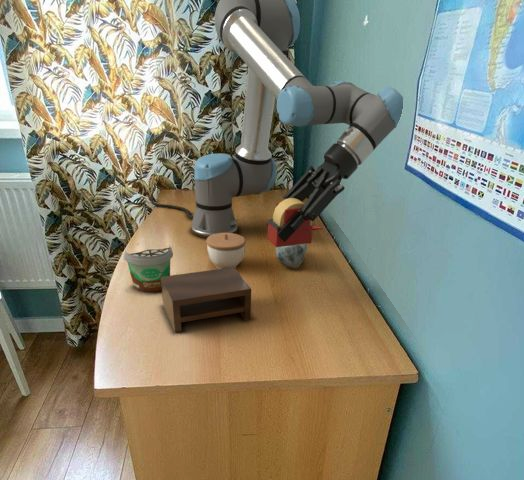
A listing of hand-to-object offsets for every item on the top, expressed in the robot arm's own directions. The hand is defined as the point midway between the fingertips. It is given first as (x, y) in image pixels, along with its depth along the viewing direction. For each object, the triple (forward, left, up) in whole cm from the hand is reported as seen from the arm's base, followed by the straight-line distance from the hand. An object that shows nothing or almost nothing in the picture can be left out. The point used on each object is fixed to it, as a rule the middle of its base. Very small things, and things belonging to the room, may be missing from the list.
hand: (275, 233), depth 105 cm
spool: (-20, +15, -18) cm, 30 cm away
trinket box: (-23, -4, -18) cm, 29 cm away
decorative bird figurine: (-35, +26, -18) cm, 47 cm away
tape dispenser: (0, +4, -2) cm, 4 cm away
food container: (-15, -26, -18) cm, 35 cm away
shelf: (+1, -17, -18) cm, 25 cm away
